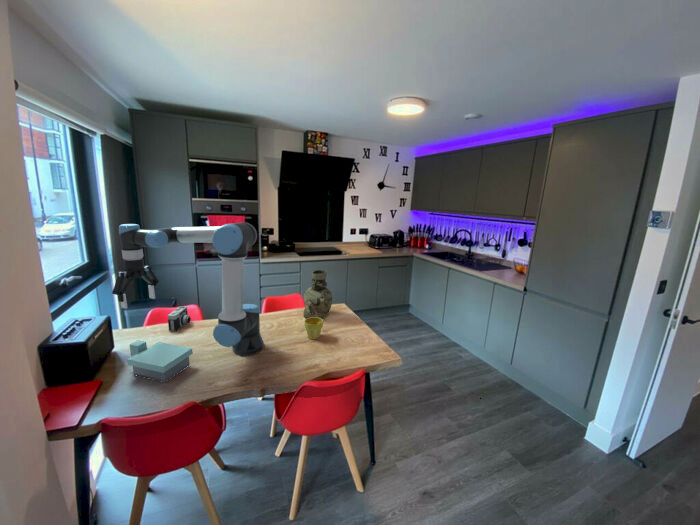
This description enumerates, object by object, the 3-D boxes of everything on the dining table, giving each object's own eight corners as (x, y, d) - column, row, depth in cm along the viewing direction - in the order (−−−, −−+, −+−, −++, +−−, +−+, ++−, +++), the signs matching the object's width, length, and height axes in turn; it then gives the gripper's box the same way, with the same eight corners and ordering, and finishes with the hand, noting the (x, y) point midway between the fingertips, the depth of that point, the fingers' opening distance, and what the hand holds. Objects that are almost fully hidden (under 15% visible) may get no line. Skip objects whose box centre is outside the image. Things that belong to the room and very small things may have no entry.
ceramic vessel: (312, 325, 175) (313, 278, 168) (297, 313, 191) (297, 270, 185) (338, 319, 186) (340, 274, 179) (322, 308, 202) (323, 267, 196)
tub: (189, 365, 129) (188, 351, 128) (165, 382, 117) (163, 367, 116) (160, 359, 133) (159, 345, 132) (134, 375, 121) (131, 360, 119)
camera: (183, 331, 161) (182, 314, 158) (168, 331, 160) (166, 314, 158) (195, 321, 174) (193, 305, 172) (181, 320, 174) (179, 305, 171)
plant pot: (300, 338, 158) (300, 322, 156) (310, 331, 167) (310, 315, 165) (317, 342, 154) (317, 326, 152) (325, 334, 164) (326, 319, 162)
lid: (192, 354, 129) (191, 342, 128) (163, 373, 115) (162, 360, 113) (150, 346, 134) (149, 334, 133) (118, 363, 120) (116, 350, 119)
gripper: (152, 253, 142) (156, 293, 146) (96, 263, 118) (104, 311, 123) (164, 254, 140) (168, 295, 145) (110, 265, 116) (117, 313, 121)
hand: (139, 302), depth 134 cm, fingers open, 13 cm apart
